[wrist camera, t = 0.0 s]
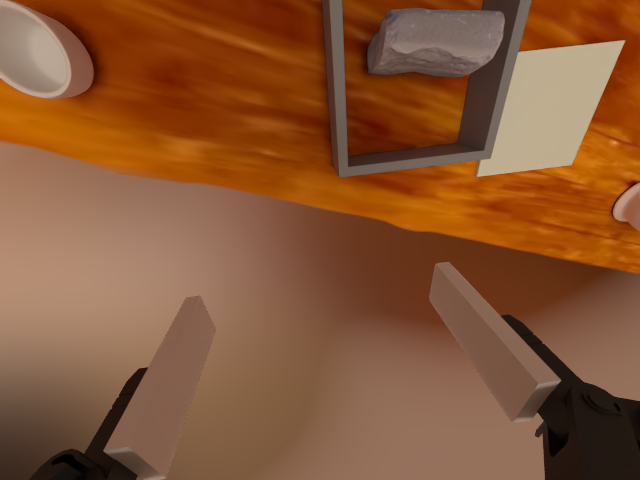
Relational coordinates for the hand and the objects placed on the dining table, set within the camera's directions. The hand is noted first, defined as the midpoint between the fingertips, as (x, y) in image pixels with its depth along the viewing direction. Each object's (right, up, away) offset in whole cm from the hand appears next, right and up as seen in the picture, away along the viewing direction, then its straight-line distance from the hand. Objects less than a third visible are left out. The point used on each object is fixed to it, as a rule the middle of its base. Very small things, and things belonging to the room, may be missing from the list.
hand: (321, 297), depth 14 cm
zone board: (+32, +22, +22) cm, 45 cm away
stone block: (+11, +27, +17) cm, 33 cm away
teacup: (-30, +24, +14) cm, 41 cm away
